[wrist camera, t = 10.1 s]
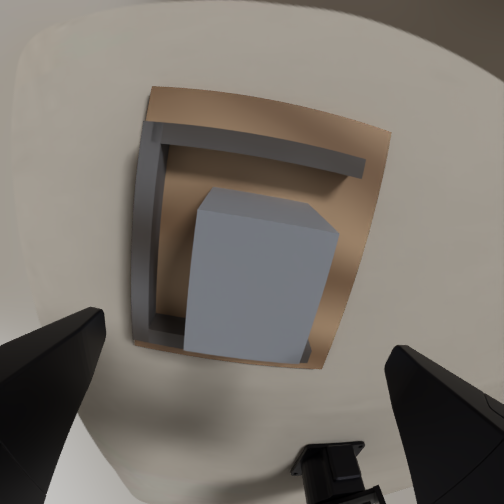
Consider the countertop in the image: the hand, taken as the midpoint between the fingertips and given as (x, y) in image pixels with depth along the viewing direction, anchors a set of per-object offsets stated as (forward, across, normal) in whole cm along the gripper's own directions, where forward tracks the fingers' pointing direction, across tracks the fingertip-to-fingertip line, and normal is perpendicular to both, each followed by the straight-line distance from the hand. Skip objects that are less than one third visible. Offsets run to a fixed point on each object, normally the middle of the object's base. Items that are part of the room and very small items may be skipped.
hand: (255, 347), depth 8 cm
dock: (+9, 0, 0) cm, 9 cm away
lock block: (+9, 0, 0) cm, 9 cm away
